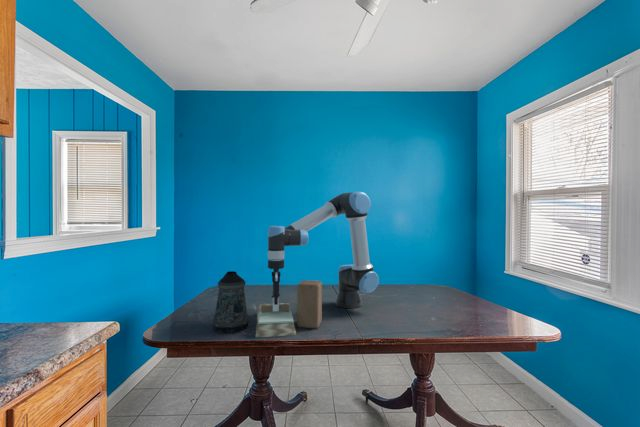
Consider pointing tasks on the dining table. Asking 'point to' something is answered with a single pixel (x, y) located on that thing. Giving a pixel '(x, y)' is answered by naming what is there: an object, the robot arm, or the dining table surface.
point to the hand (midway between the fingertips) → (275, 310)
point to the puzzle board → (274, 327)
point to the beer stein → (231, 305)
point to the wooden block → (309, 304)
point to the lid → (275, 314)
